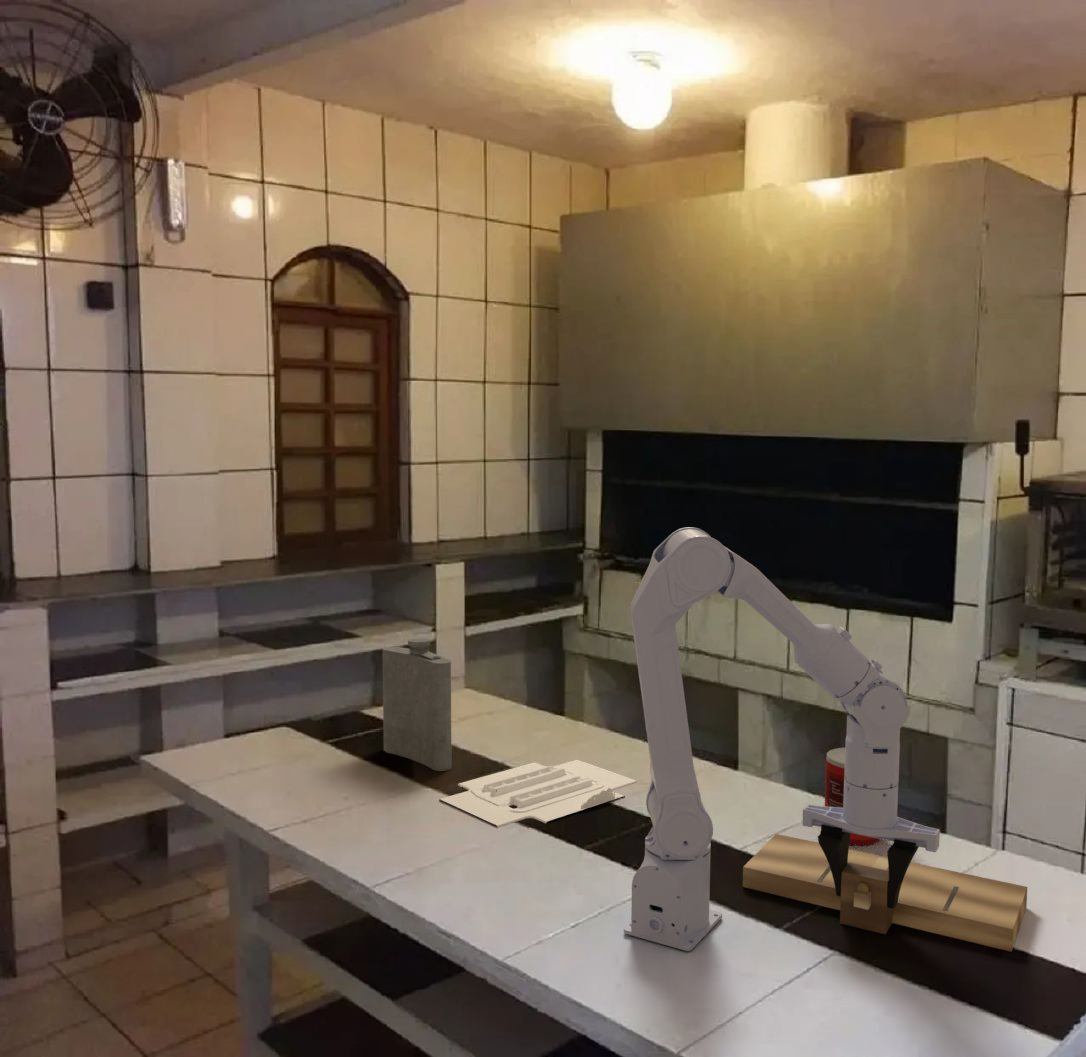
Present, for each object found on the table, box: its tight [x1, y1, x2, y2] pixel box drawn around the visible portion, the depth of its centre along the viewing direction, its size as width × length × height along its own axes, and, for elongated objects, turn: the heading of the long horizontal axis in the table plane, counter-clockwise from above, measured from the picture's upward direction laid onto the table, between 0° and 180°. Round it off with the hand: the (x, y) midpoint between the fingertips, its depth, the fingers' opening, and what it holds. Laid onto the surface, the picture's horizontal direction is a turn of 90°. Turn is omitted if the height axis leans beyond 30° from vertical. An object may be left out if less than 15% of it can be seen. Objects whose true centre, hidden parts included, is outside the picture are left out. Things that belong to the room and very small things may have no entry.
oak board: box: [742, 833, 1028, 952], centre depth 126 cm, size 12×30×2 cm, turn 59°
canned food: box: [824, 747, 880, 846], centre depth 145 cm, size 8×8×11 cm
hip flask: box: [381, 637, 452, 772], centre depth 176 cm, size 16×4×20 cm, turn 45°
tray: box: [438, 759, 638, 828], centre depth 161 cm, size 20×28×4 cm
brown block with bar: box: [839, 857, 893, 935], centre depth 122 cm, size 11×5×6 cm, turn 149°
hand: (866, 898), depth 119 cm, fingers closed on brown block with bar, 5 cm apart
